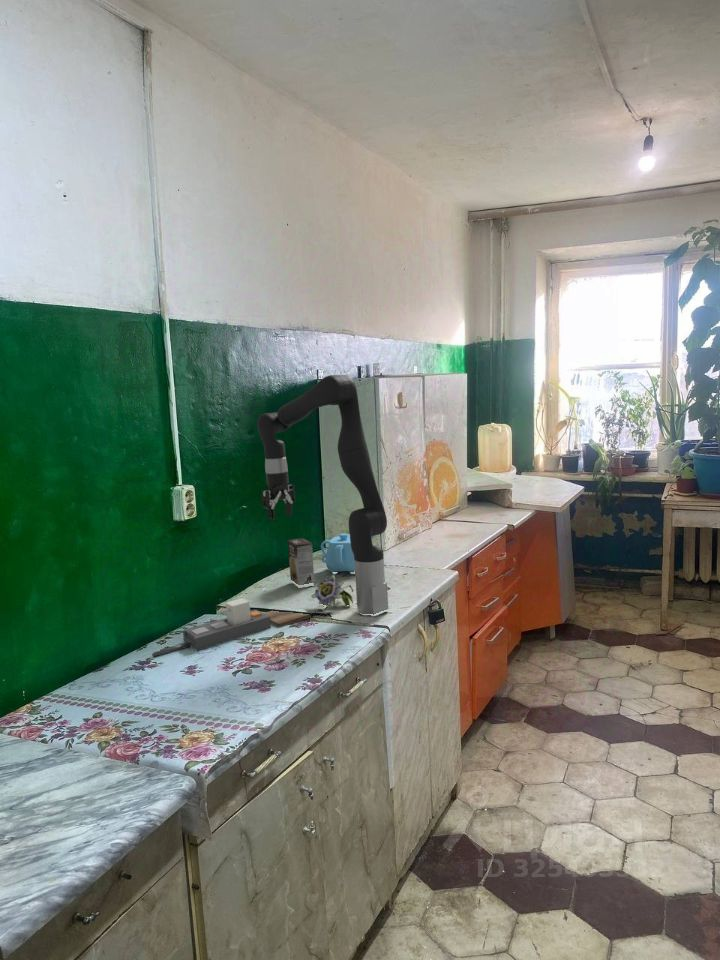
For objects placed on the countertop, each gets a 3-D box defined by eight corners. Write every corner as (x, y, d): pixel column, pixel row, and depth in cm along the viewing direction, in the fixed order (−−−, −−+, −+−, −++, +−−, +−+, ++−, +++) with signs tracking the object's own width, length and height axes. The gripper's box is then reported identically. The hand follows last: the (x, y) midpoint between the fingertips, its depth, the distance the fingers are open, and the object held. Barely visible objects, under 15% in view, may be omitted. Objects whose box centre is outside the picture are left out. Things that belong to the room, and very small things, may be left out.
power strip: (270, 627, 207) (269, 614, 207) (158, 662, 187) (156, 647, 186) (256, 620, 214) (255, 607, 214) (146, 652, 194) (145, 638, 193)
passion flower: (327, 624, 222) (303, 596, 221) (340, 607, 231) (318, 580, 231) (350, 609, 216) (326, 580, 215) (363, 592, 225) (340, 564, 225)
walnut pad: (312, 616, 214) (312, 613, 214) (279, 627, 207) (278, 623, 207) (292, 607, 224) (292, 604, 224) (259, 617, 217) (259, 614, 217)
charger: (251, 624, 206) (249, 601, 204) (225, 631, 201) (223, 608, 200) (244, 620, 209) (242, 598, 208) (219, 627, 204) (217, 605, 203)
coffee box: (290, 582, 251) (286, 540, 249) (306, 579, 254) (303, 537, 251) (298, 589, 243) (295, 545, 240) (315, 586, 245) (312, 542, 243)
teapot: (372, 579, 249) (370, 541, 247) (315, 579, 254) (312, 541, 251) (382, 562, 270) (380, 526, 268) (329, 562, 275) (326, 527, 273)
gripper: (269, 474, 227) (274, 522, 229) (298, 468, 238) (302, 513, 240) (254, 473, 232) (258, 520, 234) (283, 467, 243) (287, 512, 245)
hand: (280, 517), depth 237 cm, fingers open, 8 cm apart
